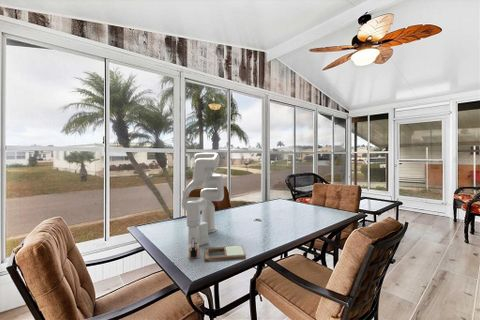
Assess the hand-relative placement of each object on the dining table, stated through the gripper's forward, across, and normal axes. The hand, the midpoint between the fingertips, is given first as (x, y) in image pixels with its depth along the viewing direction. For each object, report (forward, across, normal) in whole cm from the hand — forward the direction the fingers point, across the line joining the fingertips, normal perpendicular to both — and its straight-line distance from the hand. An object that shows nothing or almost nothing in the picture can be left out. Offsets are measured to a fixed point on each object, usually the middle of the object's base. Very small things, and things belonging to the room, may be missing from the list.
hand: (194, 254), depth 124 cm
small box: (+1, -18, +3) cm, 18 cm away
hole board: (+1, +1, +17) cm, 17 cm away
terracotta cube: (+1, 0, 0) cm, 1 cm away
